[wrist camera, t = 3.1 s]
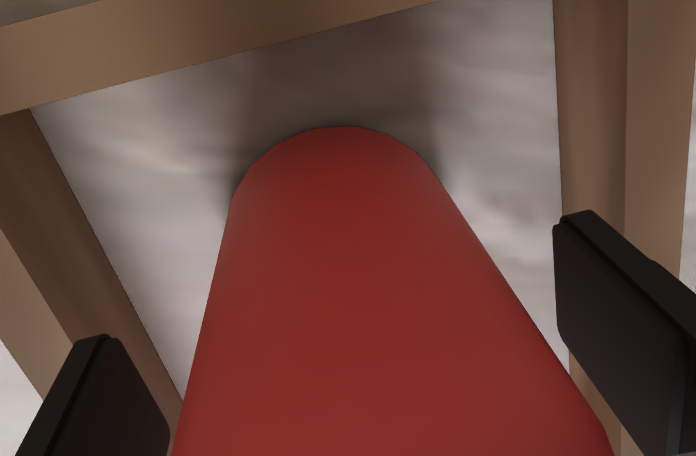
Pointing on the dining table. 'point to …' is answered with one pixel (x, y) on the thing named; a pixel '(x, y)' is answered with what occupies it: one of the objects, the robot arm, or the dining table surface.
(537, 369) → the beer can
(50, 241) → the frame
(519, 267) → the dining table surface
